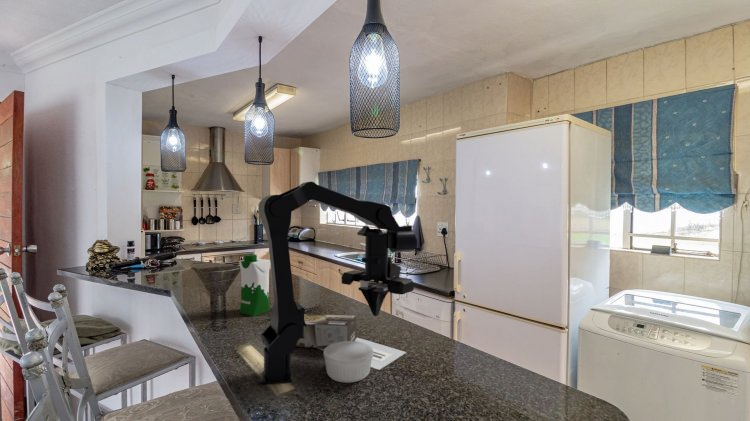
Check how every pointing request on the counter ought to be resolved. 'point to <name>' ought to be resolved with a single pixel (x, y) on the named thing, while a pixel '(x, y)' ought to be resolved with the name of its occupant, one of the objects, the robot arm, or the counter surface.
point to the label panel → (380, 354)
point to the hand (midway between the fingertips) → (375, 315)
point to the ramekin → (348, 361)
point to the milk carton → (254, 285)
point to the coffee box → (327, 330)
